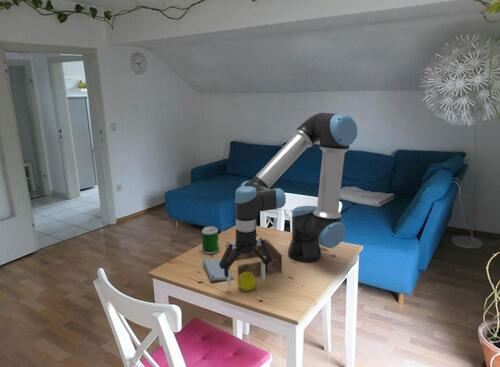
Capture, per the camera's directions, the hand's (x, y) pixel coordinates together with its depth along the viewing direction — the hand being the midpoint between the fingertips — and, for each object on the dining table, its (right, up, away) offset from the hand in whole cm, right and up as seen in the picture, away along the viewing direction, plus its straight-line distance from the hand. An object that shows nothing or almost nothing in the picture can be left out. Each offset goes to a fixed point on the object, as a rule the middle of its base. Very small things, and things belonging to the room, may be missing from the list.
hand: (246, 281), depth 140 cm
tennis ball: (0, -4, +1) cm, 4 cm away
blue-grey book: (-8, +2, +15) cm, 17 cm away
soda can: (-17, +5, +34) cm, 39 cm away
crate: (+3, +1, +19) cm, 20 cm away
